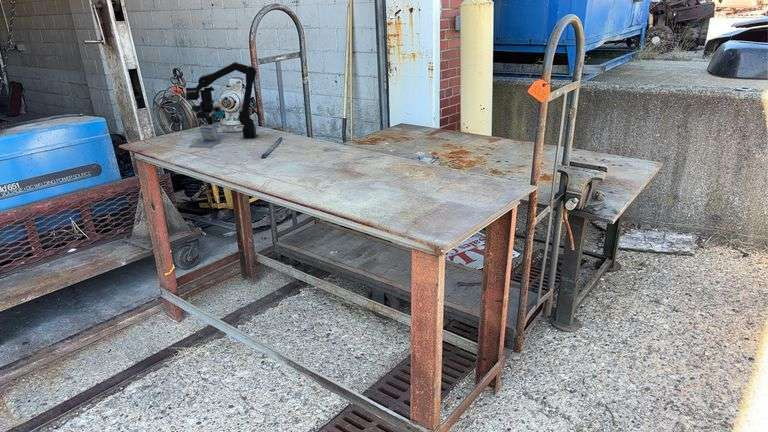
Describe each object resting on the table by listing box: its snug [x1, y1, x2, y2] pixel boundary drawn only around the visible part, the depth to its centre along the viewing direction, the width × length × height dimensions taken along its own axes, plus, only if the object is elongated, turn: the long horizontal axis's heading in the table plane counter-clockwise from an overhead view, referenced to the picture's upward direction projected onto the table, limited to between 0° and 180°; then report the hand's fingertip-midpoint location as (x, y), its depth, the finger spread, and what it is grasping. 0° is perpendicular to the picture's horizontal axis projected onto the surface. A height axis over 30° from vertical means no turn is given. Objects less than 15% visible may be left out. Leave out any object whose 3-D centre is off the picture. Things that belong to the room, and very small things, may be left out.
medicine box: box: [198, 123, 220, 141], centre depth 303 cm, size 8×4×9 cm, turn 76°
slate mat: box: [188, 140, 221, 149], centre depth 298 cm, size 13×12×1 cm
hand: (211, 127), depth 304 cm, fingers closed
